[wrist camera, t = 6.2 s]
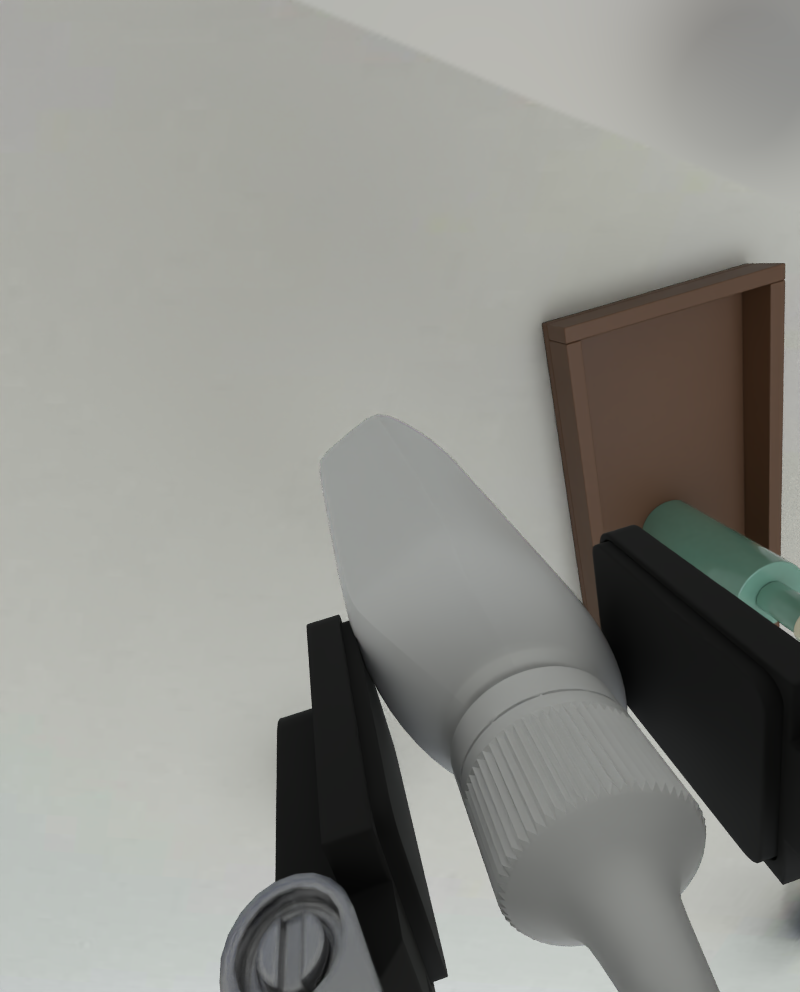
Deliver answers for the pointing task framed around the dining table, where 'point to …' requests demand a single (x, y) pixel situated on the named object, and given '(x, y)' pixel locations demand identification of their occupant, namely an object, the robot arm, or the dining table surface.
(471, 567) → the white plastic bottle
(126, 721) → the dining table surface
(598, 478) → the tray
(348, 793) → the robot arm
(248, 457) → the dining table surface
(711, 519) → the green bottle
